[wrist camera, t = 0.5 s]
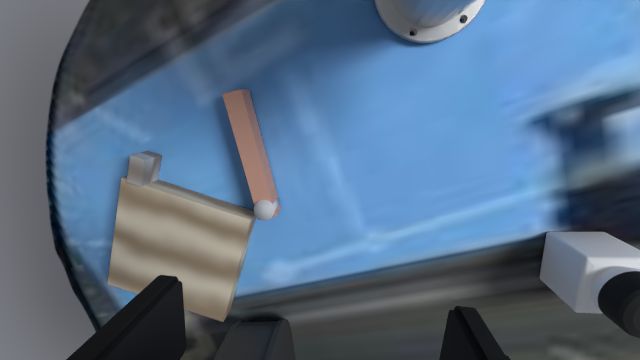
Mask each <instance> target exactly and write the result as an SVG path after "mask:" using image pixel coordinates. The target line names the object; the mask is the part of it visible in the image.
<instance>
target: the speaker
mask: <svg viewBox="0 0 640 360" xmlns="http://www.w3.org/2000/svg"><path fill="white" fill-rule="evenodd" d="M213 360H295V353H294V347H293V340H292V334H291V328H290V324H289V322H288V320H287V319H280V320H279V321H272V322H246V321H244V320H237V321H235V322H234V323H233V324H232V325H231V327H230V329H229V330H228V332H227V334H226V336H225V338H224V340H223V342H222V344H221V345H220V347H219V349H218V351H217V353H216V355H215V357H214V359H213Z"/></svg>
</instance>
